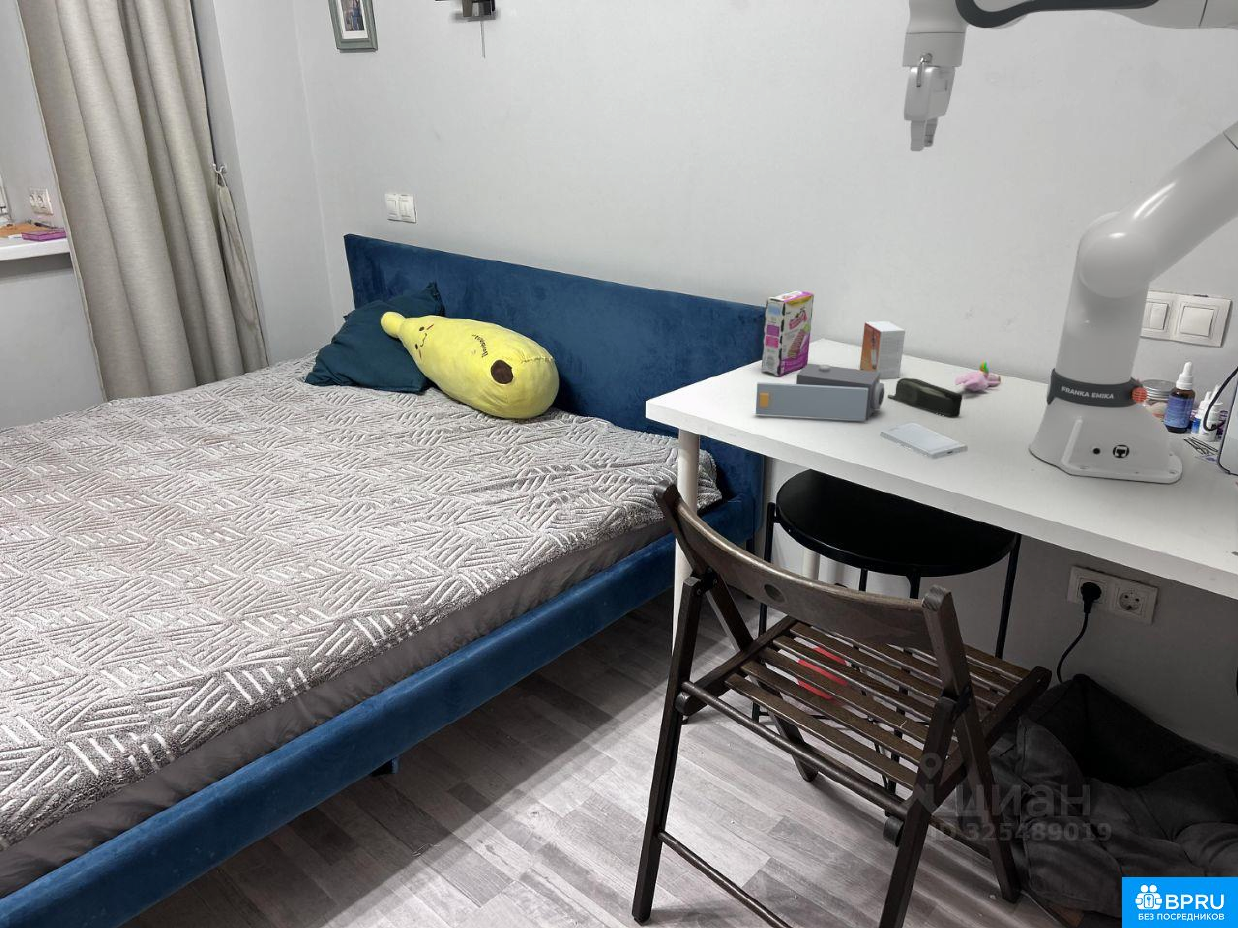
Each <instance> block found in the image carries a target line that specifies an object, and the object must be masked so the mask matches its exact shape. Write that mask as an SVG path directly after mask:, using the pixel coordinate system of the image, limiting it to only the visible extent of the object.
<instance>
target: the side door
mask: <svg viewBox="0 0 1238 928" xmlns="http://www.w3.org/2000/svg"><path fill="white" fill-rule="evenodd" d="M867 398H868V388H860V387H841V386H822V385H803V384H796V383H781V382H780V383H779V382H762V381H761V382H760V381H758V382H757V384H756V399H755V400H756V401H755V415H762V416H765V415H766V416H780V417H781V416H783V417H795V418H796V417H797V418H799V417H800V418H801V417H802V418H812V419H813V418H815V419H833V420H834V419H835V420H850V421H866V420H865V417H866V407H867Z"/></svg>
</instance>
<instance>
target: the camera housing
mask: <svg viewBox="0 0 1238 928" xmlns="http://www.w3.org/2000/svg"><path fill="white" fill-rule="evenodd" d="M880 373H881V372H873V371H865V370H862V369H857V368H848V367H847V368H846V367H839V366H832V365H829V364H815V363H809V362H808V363H807V365H806V366H805V367H803V368H801V370H800V371H799V372H798V373H796V381H795V384H803V385H822V386H841V387H860V388H868V398H867V407H866V417H865V421H869V419H870V418H871V416H872V415H873V413H874V412H875V410H876V411H877V410H878V411H879V410H880V409H881V406H882V405H883V402H884V399H885V398H884V397H885V387H884V385H885V384H884V383H883V382H880V381H881V379H880Z"/></svg>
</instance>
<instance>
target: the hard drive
mask: <svg viewBox="0 0 1238 928" xmlns="http://www.w3.org/2000/svg"><path fill="white" fill-rule="evenodd" d="M879 436H880V437H882V438H884V439H887V440H888V441H891V442H893V443H895V444H897V443H899V444H901V445H900V446H902V445H904V446H906V447H908V448H911V449H913V450H915V451H917V452H919V453H921V454H923V455H922V456H924V455H926V456H927V457H926V456H925V457H926V458H928V457H929V458H928V459H930V458H932V459H931V460H934V459H933V458H936V459H938V458H937V457H939V458H942V457H941V456H943V457H946V455H947V456H950V455H949V454H951V455H955V454H958V453H962V452H966V451H968V445H966V444H964V443H961V442H959V441H957V440H956V439H952V438H950V437H947V436H945V435H943V434H940V433H938V432H936V431H933V430H931V429H929V428H926V427H924V426H922V425H920V424H917V423H915V422H910V423H906V424H902V425H898V426H893V427H890V428H885V429H882V430H880V433H879ZM899 444H898V445H899ZM904 446H903V447H904ZM906 447H905V448H906ZM908 448H907V449H908ZM913 450H912V451H913ZM915 451H914V452H915ZM917 452H916V453H917ZM919 453H918V454H919ZM921 454H920V455H921Z"/></svg>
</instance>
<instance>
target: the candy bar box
mask: <svg viewBox="0 0 1238 928" xmlns="http://www.w3.org/2000/svg"><path fill="white" fill-rule="evenodd" d="M814 298H815V293H812V292H808V291H807V292H806V291H803V290H793V291H789V292H786V293H782V294H778V295H774V296H770V297H767V298H766V307H765V319H764V320H765V321H764V331H763V332H764V333H763V335H764V336H763V347H762V361H761V371H760V372H761V373H762V374H765V375H766V374H767V375H769V376H773V377H778V378H779V377H782V376H785V375H787V374H790V373H792V372H795V371H797V370H800V369H803V368H804V367H805V366H806V365H807V364H808V363H809V362H808V361H809V360H808V359H809V350H810V340H811V327H812V317H813V306H814Z"/></svg>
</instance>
